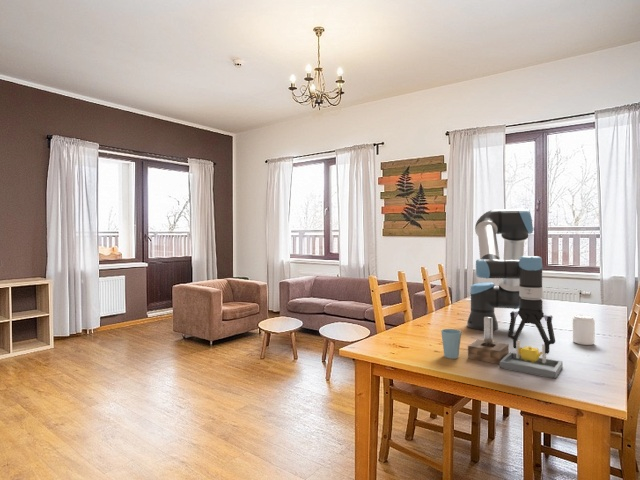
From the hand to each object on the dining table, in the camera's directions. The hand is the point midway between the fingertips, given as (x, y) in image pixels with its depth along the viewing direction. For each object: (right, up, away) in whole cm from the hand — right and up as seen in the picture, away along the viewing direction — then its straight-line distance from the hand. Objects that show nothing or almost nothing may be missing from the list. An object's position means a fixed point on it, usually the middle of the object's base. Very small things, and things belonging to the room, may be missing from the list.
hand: (531, 359), depth 145 cm
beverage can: (+40, -2, +31) cm, 50 cm away
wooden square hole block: (-10, -3, +13) cm, 17 cm away
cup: (-25, -3, +14) cm, 29 cm away
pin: (-10, -1, +13) cm, 16 cm away
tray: (0, -3, 0) cm, 3 cm away
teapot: (0, -1, 0) cm, 1 cm away
